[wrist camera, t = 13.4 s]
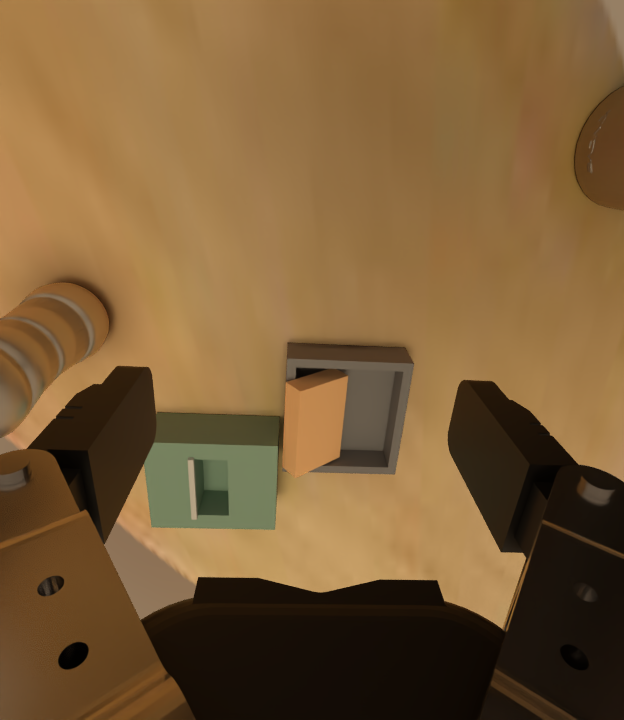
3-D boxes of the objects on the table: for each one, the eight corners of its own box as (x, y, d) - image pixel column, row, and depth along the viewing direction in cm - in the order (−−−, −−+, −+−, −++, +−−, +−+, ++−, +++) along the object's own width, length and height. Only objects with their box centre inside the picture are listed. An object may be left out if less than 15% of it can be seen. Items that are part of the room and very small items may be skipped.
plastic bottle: (70, 358, 41) (-105, 519, 23) (23, 292, 39) (-218, 417, 20) (131, 331, 40) (-2, 477, 22) (87, 263, 38) (-105, 365, 20)
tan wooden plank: (339, 457, 44) (348, 375, 40) (295, 478, 41) (300, 391, 37) (326, 447, 45) (333, 367, 42) (282, 466, 42) (285, 382, 38)
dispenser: (279, 416, 45) (277, 448, 40) (276, 494, 49) (274, 532, 44) (157, 412, 44) (140, 444, 39) (165, 492, 48) (150, 530, 43)
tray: (405, 347, 42) (414, 363, 39) (388, 452, 47) (394, 474, 44) (287, 342, 41) (287, 358, 38) (283, 449, 46) (282, 471, 43)
